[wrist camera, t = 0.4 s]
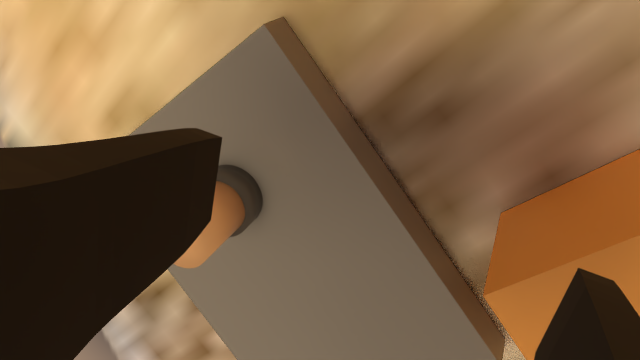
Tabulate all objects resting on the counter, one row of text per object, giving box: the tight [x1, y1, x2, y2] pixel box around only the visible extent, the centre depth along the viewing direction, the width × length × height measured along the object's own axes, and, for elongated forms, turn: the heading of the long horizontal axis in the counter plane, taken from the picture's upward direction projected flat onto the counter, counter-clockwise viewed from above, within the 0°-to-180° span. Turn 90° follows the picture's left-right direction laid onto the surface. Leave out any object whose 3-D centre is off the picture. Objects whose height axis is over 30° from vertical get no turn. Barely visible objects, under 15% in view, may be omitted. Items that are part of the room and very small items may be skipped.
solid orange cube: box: [483, 149, 640, 360], centre depth 17 cm, size 5×5×5 cm
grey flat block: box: [129, 17, 505, 360], centre depth 21 cm, size 14×10×5 cm
